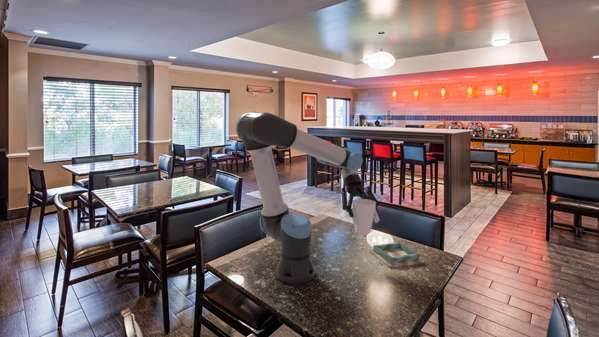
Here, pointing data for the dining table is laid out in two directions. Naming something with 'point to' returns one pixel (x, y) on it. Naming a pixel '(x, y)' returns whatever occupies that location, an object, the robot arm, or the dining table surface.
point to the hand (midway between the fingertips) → (367, 222)
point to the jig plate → (396, 255)
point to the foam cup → (364, 215)
